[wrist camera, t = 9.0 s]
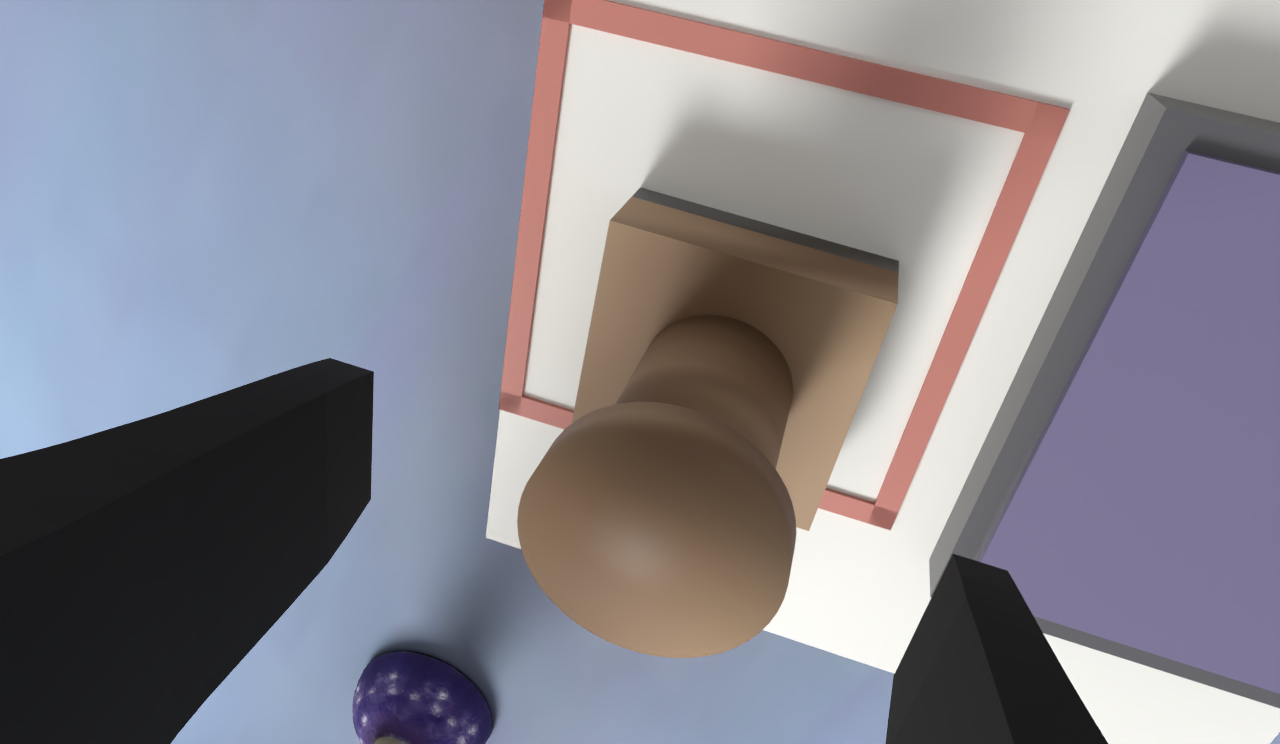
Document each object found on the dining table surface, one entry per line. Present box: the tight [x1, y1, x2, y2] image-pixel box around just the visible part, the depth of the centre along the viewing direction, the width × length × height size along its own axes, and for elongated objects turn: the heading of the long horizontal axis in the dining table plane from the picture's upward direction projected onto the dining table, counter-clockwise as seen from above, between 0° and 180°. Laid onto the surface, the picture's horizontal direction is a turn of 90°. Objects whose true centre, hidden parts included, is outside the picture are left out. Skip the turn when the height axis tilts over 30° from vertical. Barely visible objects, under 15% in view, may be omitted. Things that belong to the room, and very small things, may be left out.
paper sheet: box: [486, 0, 1280, 744], centre depth 17 cm, size 18×17×1 cm
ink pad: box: [929, 92, 1280, 708], centre depth 15 cm, size 8×10×1 cm
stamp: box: [517, 187, 899, 658], centre depth 15 cm, size 5×5×7 cm
